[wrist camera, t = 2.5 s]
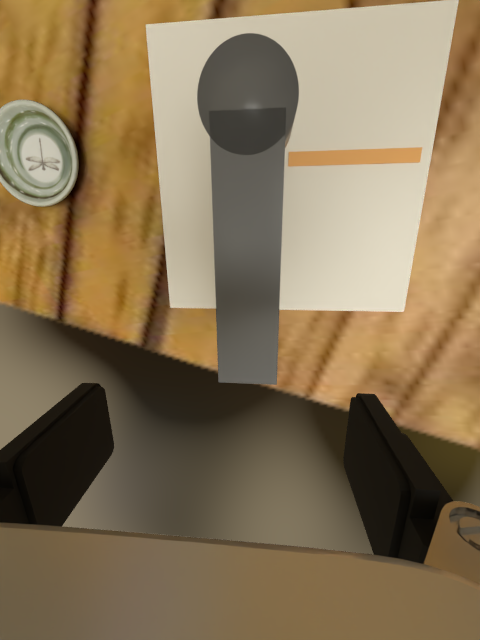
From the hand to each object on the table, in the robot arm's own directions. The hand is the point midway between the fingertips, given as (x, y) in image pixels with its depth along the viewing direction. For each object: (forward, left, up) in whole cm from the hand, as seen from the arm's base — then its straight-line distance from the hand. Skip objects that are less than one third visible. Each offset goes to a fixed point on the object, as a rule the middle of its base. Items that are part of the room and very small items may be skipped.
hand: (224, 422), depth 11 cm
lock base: (-11, +3, -24) cm, 26 cm away
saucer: (-14, -23, -24) cm, 36 cm away
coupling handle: (-6, 0, -14) cm, 16 cm away
